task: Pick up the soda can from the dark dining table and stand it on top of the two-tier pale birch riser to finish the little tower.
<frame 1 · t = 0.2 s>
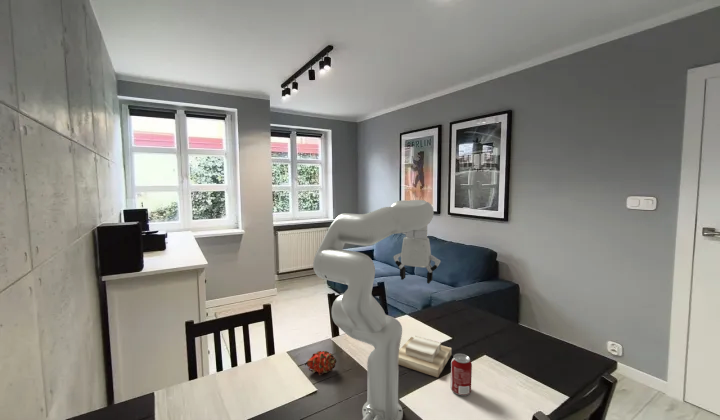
hand: (415, 280, 114), 36 cm above the table, tool pointing down, fingers open, 9 cm apart
soda can: (460, 391, 109), on the table
birch riser: (423, 358, 128), on the table
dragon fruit: (321, 372, 119), on the table
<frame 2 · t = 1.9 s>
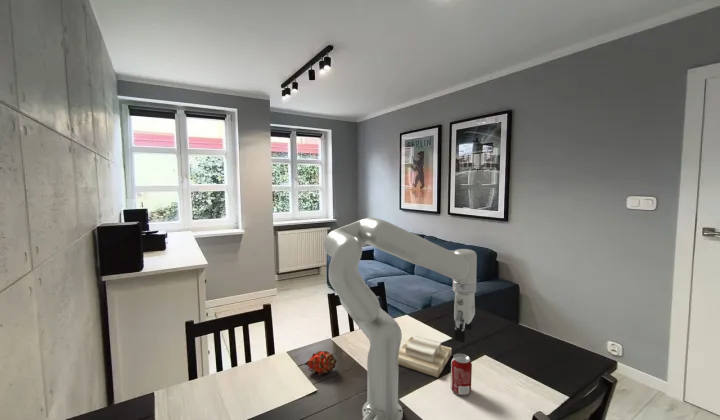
hand: (463, 334, 107), 20 cm above the table, tool pointing down, fingers open, 9 cm apart
nothing on the table moved.
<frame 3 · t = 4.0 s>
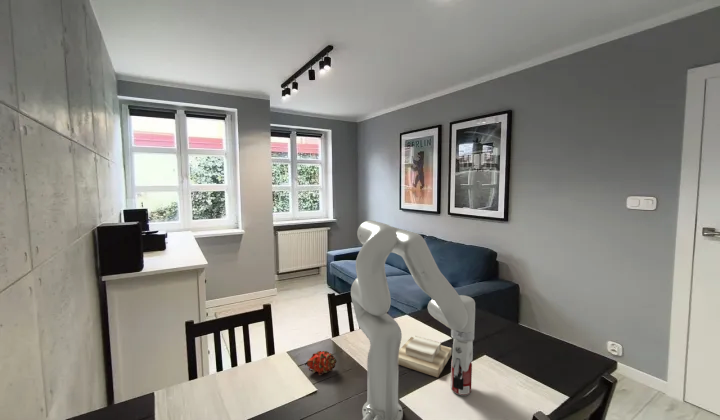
hand: (461, 381, 108), 3 cm above the table, tool pointing down, fingers closed on soda can, 6 cm apart
soda can: (460, 391, 109), on the table, touching gripper
everything else where it was.
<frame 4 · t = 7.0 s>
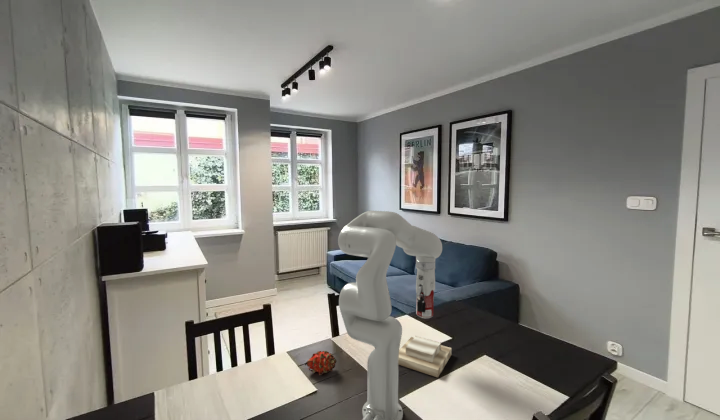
hand: (424, 308, 126), 22 cm above the table, tool pointing down, fingers closed on soda can, 6 cm apart
soda can: (424, 316, 126), point 18 cm above the table, touching gripper
everything else where it was.
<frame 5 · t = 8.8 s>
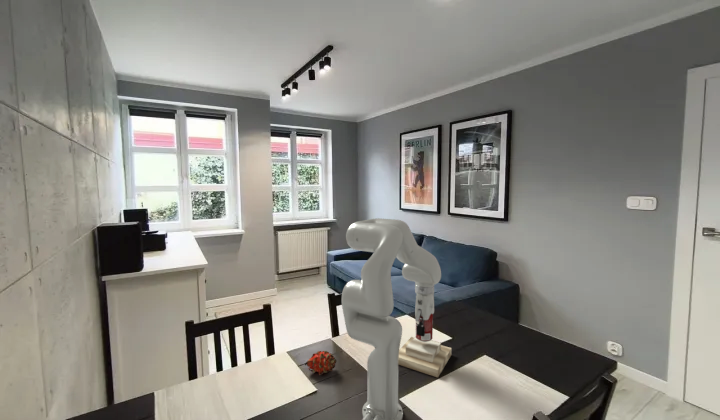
hand: (423, 331, 127), 12 cm above the table, tool pointing down, fingers closed on soda can, 6 cm apart
soda can: (423, 339, 128), point 8 cm above the table, touching gripper
everything else where it was.
when the fingers open (11 cm above the table, at t = 10.0 s): soda can drops 1 cm, resting on birch riser.
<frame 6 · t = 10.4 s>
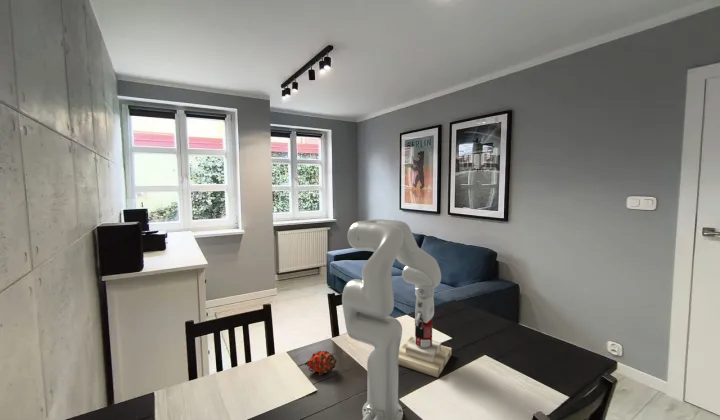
hand: (423, 332, 127), 11 cm above the table, tool pointing down, fingers open, 9 cm apart
soda can: (423, 345, 128), point 6 cm above the table, touching birch riser
everything else where it was.
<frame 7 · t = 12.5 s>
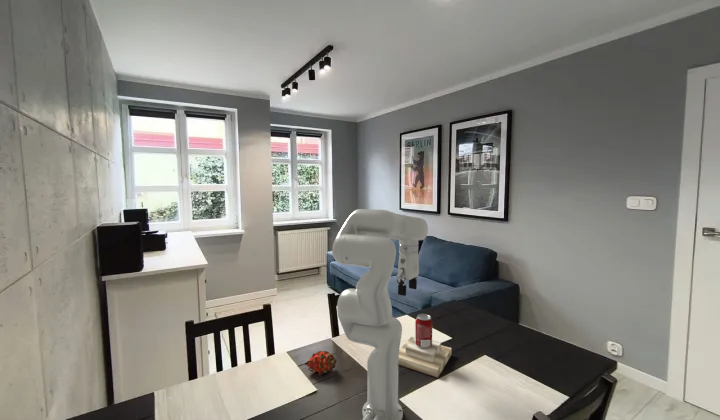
hand: (407, 291, 124), 29 cm above the table, tool pointing down, fingers open, 9 cm apart
nothing on the table moved.
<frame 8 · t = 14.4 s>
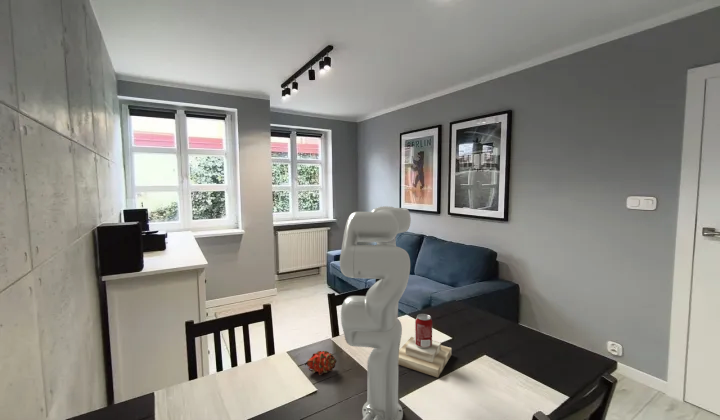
hand: (385, 281, 122), 33 cm above the table, tool pointing down, fingers open, 9 cm apart
nothing on the table moved.
at the end: soda can inside the target area on the birch riser (0.2 cm from its centre), point 5.8 cm above the birch riser's base; soda can tilted 0°; the gripper is holding nothing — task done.
